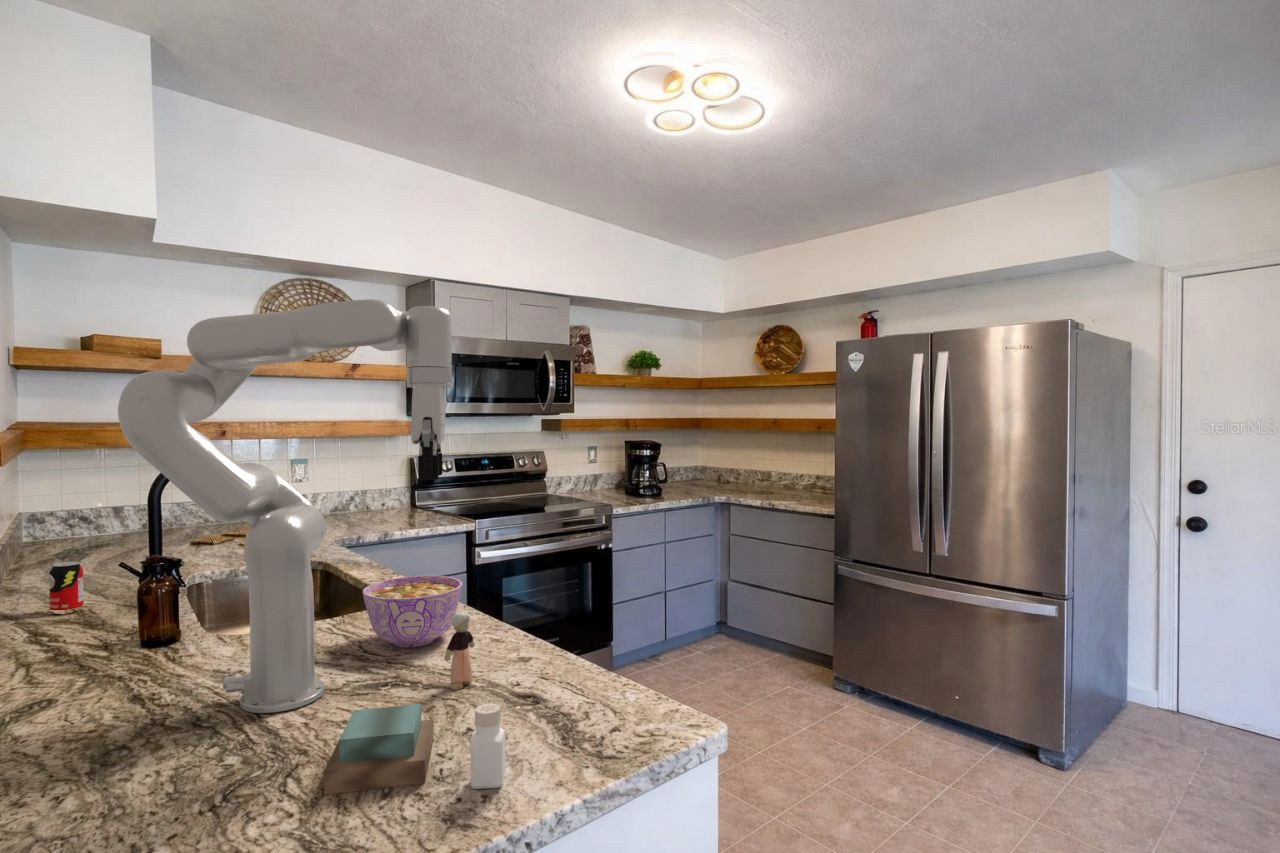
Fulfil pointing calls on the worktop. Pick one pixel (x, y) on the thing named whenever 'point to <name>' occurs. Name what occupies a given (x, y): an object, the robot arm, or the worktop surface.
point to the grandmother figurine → (460, 651)
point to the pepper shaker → (487, 748)
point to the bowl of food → (412, 608)
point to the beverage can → (66, 585)
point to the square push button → (380, 750)
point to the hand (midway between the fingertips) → (430, 477)
